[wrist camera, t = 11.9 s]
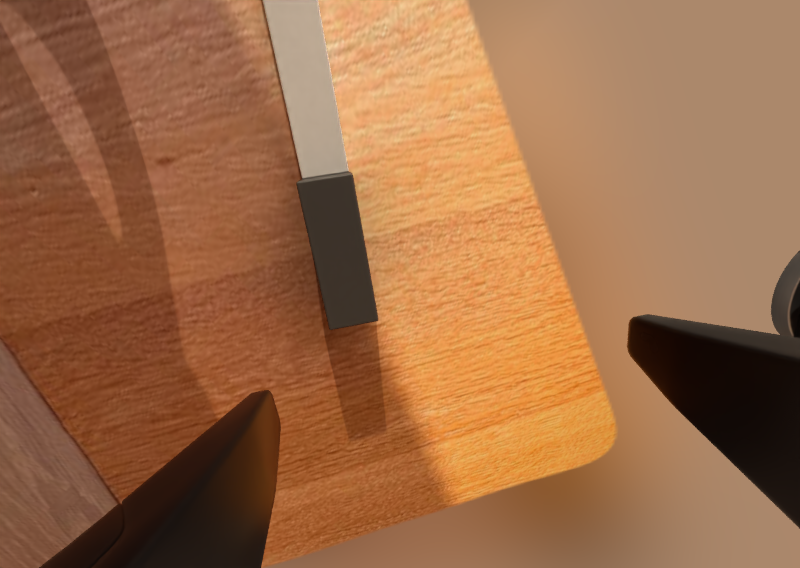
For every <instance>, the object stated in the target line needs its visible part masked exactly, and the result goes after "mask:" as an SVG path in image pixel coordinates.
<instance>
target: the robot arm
mask: <svg viewBox="0 0 800 568" xmlns="http://www.w3.org/2000/svg"><path fill="white" fill-rule="evenodd" d="M627 348H628V352H629V354H630V356H631V357H632V358H633V360H634V361H635V362H636V363H637V364H638V365H639V367H640V368H641V369H642V370H643V371H644V372H645V374H646V375H647V376H648V377H649V378H650V379H651V381H652V382H653V383H654V384H655V385H656V386H657V387H658V389H659V390H660V391H661V392H662V393H663V395H664V396H665V397H666V398H667V399H668V400H669V401H670V402H671V403H672V404H673V405H674V406H675V408H676V409H678V411H680V413H681V414H682V415H684V416H685V417H686V418H687V419H688V420H689V421H690V422H691V423H692V424H693V425H694V426H695V427H696V428H697V429H698V430H699V431H700V432H701V433H702V434H703V435H704V436H705V437H706V438H707V439H708V440H709V441H710V442H711V443H712V444H713V445H714V446H715V447H717V449H719V450H720V451H721V452H722V453H723V454H724V455H725V456H726V457H727V458H728V459H729V460H730V461H731V462H732V463H733V464H734V465H735V466H736V467H737V468H738V469H739V470H740V471H741V472H742V473H744V475H745V476H746V477H747V478H748V479H749V480H751V482H752V483H753V484H755V485H756V486H757V487H758V488H759V489H760V490H761V491H762V492H763V493H764V494H765V495H766V496H767V497H768V498H769V499H770V500H771V501H772V502H773V503H774V504H775V505H776V506H777V507H778V508H779V509H780V510H781V511H782V512H783V513H785V514H786V516H787V517H788V518H790V519H791V520H792V521H793V522H794V523H795V524H796V525H797V526H798V527H799V528H800V312H799V316H798V321H797V325H796V329H795V333H794V337H790V336H783V335H777V334H771V333H764V332H758V331H751V330H745V329H739V328H731V327H726V326H719V325H713V324H707V323H699V322H693V321H687V320H681V319H674V318H668V317H662V316H655V315H642V316H637V317H633V318H632V319H631V320H630V322H629V329H628V343H627ZM280 431H281V425H280V419H279V415H278V412H277V408H276V405H275V402H274V398H273V395H272V393H271V392H270V391H269V390H264V391H259V392H254V393H251V394H250V395H249V396H248V397H246V398H245V399H244V400H243V401H242V402H240V403H239V404H238V405H237V406H236V407H234V408H233V409H232V410H231V411H230V412H228V413H227V414H226V415H225V416H224V417H222V418H221V419H220V420H219V421H218V422H216V423H215V424H214V425H213V426H212V427H210V428H209V429H208V430H207V431H206V432H204V433H203V434H202V435H201V436H200V437H198V438H197V439H196V440H195V441H194V442H192V443H191V444H190V445H189V446H188V447H186V448H185V449H184V450H183V451H182V452H180V453H179V454H178V455H177V456H176V457H174V458H173V459H172V460H171V461H170V462H168V463H167V464H166V465H165V466H164V467H162V468H161V469H160V470H159V471H158V472H156V473H155V474H154V475H153V476H152V477H150V478H149V479H148V480H147V481H146V482H144V483H143V484H142V485H141V486H140V487H138V488H137V489H136V490H135V491H134V492H132V493H131V494H130V495H129V496H128V497H126V498H125V499H124V500H123V501H122V504H118V505H117V506H115V507H114V508H113V509H112V510H111V511H109V512H108V513H107V514H106V515H105V516H104V517H102V518H101V519H100V520H99V521H97V522H96V523H95V524H94V525H93V526H91V527H90V528H89V529H88V530H86V531H85V532H84V533H83V534H81V535H80V536H79V537H78V538H77V539H75V540H74V541H73V542H72V543H70V544H69V545H68V546H67V547H65V548H64V549H63V550H61V551H60V552H59V553H58V554H56V555H55V556H54V557H52V558H51V559H50V560H48V561H47V562H46V563H45V564H43V565H42V566H41V567H39V568H261V565H262V560H263V555H264V549H265V544H266V539H267V534H268V529H269V524H270V519H271V514H272V508H273V503H274V498H275V492H276V482H277V470H278V457H279V444H280Z"/></svg>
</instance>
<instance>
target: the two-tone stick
mask: <svg viewBox="0 0 800 568" xmlns="http://www.w3.org/2000/svg"><path fill="white" fill-rule="evenodd" d="M263 5H264V9H265V14H266V18H267V23H268V27H269V32H270V36H271V41H272V45H273V50H274V54H275V59H276V63H277V68H278V72H279V77H280V81H281V86H282V90H283V95H284V99H285V104H286V108H287V113H288V117H289V122H290V126H291V131H292V135H293V140H294V144H295V149H296V153H297V158H298V162H299V167H300V171H301V176H302V180H300V181H298V182H297V189H298V193H299V198H300V202H301V206H302V211H303V215H304V220H305V224H306V228H307V233H308V237H309V242H310V246H311V250H312V255H313V259H314V263H315V268H316V272H317V277H318V281H319V285H320V290H321V294H322V299H323V303H324V307H325V312H326V316H327V321H328V325H329V329H330V330H333V329H338V328H343V327H348V326H354V325H359V324H364V323H369V322H374V321H378V315H377V309H376V303H375V298H374V292H373V286H372V281H371V275H370V270H369V264H368V258H367V253H366V247H365V241H364V236H363V230H362V225H361V219H360V213H359V208H358V202H357V196H356V191H355V185H354V180H353V175H352V173H351V172H349V169H348V163H347V158H346V152H345V147H344V141H343V136H342V130H341V125H340V119H339V114H338V108H337V102H336V97H335V91H334V86H333V80H332V75H331V69H330V64H329V58H328V53H327V47H326V41H325V36H324V30H323V25H322V19H321V14H320V8H319V3H318V0H263Z"/></svg>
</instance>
